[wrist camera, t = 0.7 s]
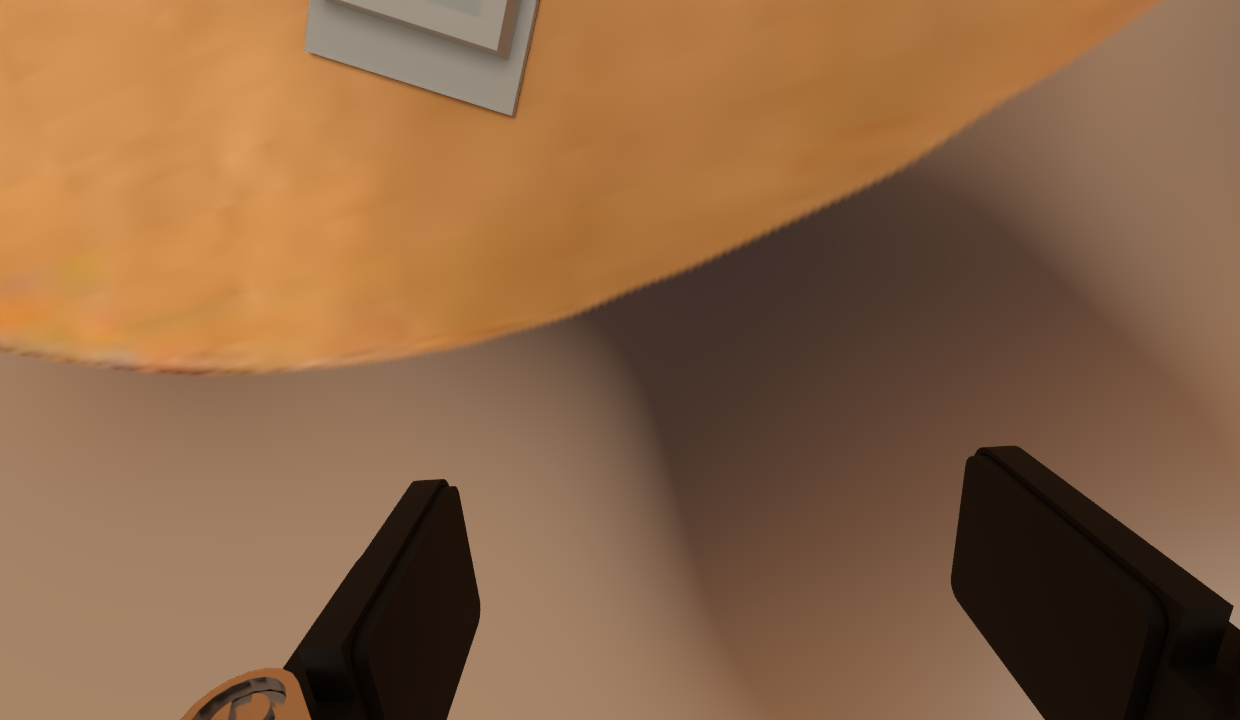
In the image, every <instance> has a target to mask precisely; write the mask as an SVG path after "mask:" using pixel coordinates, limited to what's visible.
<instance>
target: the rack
mask: <svg viewBox="0 0 1240 720" xmlns="http://www.w3.org/2000/svg"><path fill="white" fill-rule="evenodd" d="M539 1H540V0H309V9H308V19H307V29H306V39H305V49H304V51H307V52H310V53H313V54H317V55H320V56H323V57H326V58H329V59H332V60H336V61H339V62H342V63H345V64H348V65H351V66H355V67H358V68H361V69H364V70H367V71H370V72H374V73H377V74H380V75H383V76H386V77H389V78H393V79H396V80H399V81H402V82H405V83H409V84H412V85H415V86H418V87H421V88H424V89H428V90H431V91H434V92H437V93H440V94H443V95H447V96H450V97H453V98H456V99H459V100H462V101H466V102H469V103H472V104H475V105H478V106H481V107H485V108H488V109H491V110H494V111H497V112H501V113H504V114H507V115H510V116H513V117H515V112H516V107H517V103H518V98H519V93H520V89H521V84H522V80H523V75H524V70H525V66H526V61H527V56H528V52H529V47H530V43H531V38H532V33H533V29H534V24H535V19H536V15H537V10H538V6H539Z"/></svg>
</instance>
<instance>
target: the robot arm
mask: <svg viewBox="0 0 1240 720" xmlns="http://www.w3.org/2000/svg"><path fill="white" fill-rule="evenodd" d="M951 586H952V590H953V593H954V595H955V598H956V599H957V601H958V602H959V604H960V605H961V606H962V608H963V609H964V611H965V612H966V613H967V614H968V616H969V617H970V619H971V620H972V621H973V622H974V624H975V625H976V627H977V628H978V630H979V631H980V632H981V634H982V635H983V636H984V637H985V639H986V640H987V642H988V643H989V645H990V646H991V647H992V649H993V650H994V651H995V653H996V654H997V655H998V656H999V658H1000V659H1001V661H1002V662H1003V664H1004V665H1005V666H1006V668H1007V669H1008V670H1009V671H1010V673H1011V674H1012V676H1013V677H1014V678H1015V680H1016V681H1017V683H1018V684H1019V685H1020V687H1021V688H1022V689H1023V691H1024V692H1025V693H1026V695H1027V696H1028V697H1029V699H1030V700H1031V702H1032V703H1033V704H1034V706H1035V707H1036V708H1037V710H1038V711H1039V712H1040V714H1041V715H1042V716H1043V718H1044V719H1045V720H1240V630H1239V629H1238V628H1237V627H1235V626H1234V625H1233V624H1232V623H1230V622H1229V619H1230V616H1231V613H1232V610H1233V607H1234V606H1233V605H1231V604H1230V603H1228V602H1227V601H1226V600H1224V599H1223V598H1222V597H1220V596H1219V595H1218V594H1216V593H1215V592H1214V591H1212V590H1211V589H1210V588H1208V587H1207V586H1206V585H1204V584H1203V583H1202V582H1200V581H1199V580H1198V579H1196V578H1195V577H1194V576H1192V575H1191V574H1190V573H1188V572H1187V571H1185V570H1184V569H1183V568H1181V567H1180V566H1179V565H1177V564H1176V563H1175V562H1173V561H1172V560H1171V559H1169V558H1168V557H1166V556H1165V555H1164V554H1163V553H1161V552H1160V551H1159V550H1157V549H1156V548H1155V547H1153V546H1152V545H1150V544H1149V543H1148V542H1146V541H1145V540H1144V539H1142V538H1141V537H1140V536H1138V535H1137V534H1136V533H1134V532H1133V531H1131V530H1130V529H1129V528H1127V527H1126V526H1125V525H1124V524H1122V523H1121V522H1120V521H1118V520H1117V519H1115V518H1114V517H1113V516H1111V515H1110V514H1109V513H1107V512H1106V511H1105V510H1103V509H1102V508H1101V507H1099V506H1098V505H1097V504H1095V503H1094V502H1093V501H1091V500H1090V499H1088V498H1087V497H1086V496H1084V495H1083V494H1082V493H1080V492H1079V491H1078V490H1076V489H1075V488H1074V487H1072V486H1071V485H1070V484H1068V483H1067V482H1066V481H1064V480H1063V479H1062V478H1060V477H1059V476H1057V475H1056V474H1055V473H1054V472H1052V471H1051V470H1049V469H1048V468H1047V467H1045V466H1044V465H1043V464H1041V463H1040V462H1039V461H1037V460H1036V459H1035V458H1033V457H1032V456H1031V455H1029V454H1028V453H1027V452H1025V451H1024V450H1023V449H1021V448H1019V447H1017V446H998V447H982V448H980V449H978V450H977V452H976V453H975V456H971V457H969V458H968V459H967V462H966V466H965V474H964V481H963V489H962V496H961V504H960V513H959V520H958V527H957V535H956V543H955V550H954V558H953V566H952V574H951ZM479 618H480V599H479V594H478V589H477V584H476V579H475V573H474V568H473V563H472V558H471V553H470V548H469V542H468V537H467V532H466V527H465V522H464V517H463V511H462V506H461V501H460V496H459V491H458V489H457V487H455V486H450V487H449V484H448V483H447V481H446V480H445V479H438V480H421V481H413V482H412V483H411V485H410V486H409V488H408V489H407V491H406V492H405V494H404V495H403V496H402V498H401V499H400V501H399V502H398V504H397V505H396V507H395V508H394V510H393V511H392V512H391V514H390V515H389V517H388V518H387V520H386V521H385V523H384V524H383V526H382V527H381V529H380V530H379V531H378V533H377V534H376V536H375V537H374V539H373V540H372V542H371V543H370V545H369V546H368V548H367V549H366V550H365V552H364V554H363V555H362V556H361V557H360V558H359V560H357V562H356V563H355V564H354V566H353V567H352V569H351V570H350V572H349V573H348V574H347V576H346V577H345V579H344V580H343V582H342V583H341V585H340V586H339V588H338V589H337V591H336V592H335V593H334V595H333V596H332V598H331V599H330V601H329V602H328V604H327V605H326V606H325V608H324V610H323V611H322V612H321V614H320V615H319V617H318V618H317V619H316V621H315V622H314V624H313V625H312V627H311V628H310V630H309V631H308V633H307V634H306V635H305V637H304V638H303V640H302V641H301V643H300V644H299V646H298V647H297V649H296V650H295V651H294V653H293V654H292V656H291V657H290V659H289V660H288V662H287V663H286V665H285V666H284V667H283V669H281V668H264V669H259V670H254V671H250V672H247V673H245V674H242V675H240V676H237V677H235V678H232V679H230V680H228V681H226V682H225V683H223V684H221V685H220V686H218V687H216V688H214V689H213V690H211V691H210V692H209V693H207V694H206V695H205V696H204V697H203V698H201V699H200V700H199V701H198V702H196V703H195V704H194V705H193V706H192V707H191V708H190V709H189V710H188V711H187V713H186V714H185V715H184V716H183V717H182V718H181V719H180V720H447V717H448V714H449V710H450V708H451V705H452V702H453V698H454V696H455V693H456V690H457V686H458V684H459V681H460V677H461V675H462V672H463V669H464V666H465V662H466V659H467V656H468V654H469V650H470V647H471V644H472V641H473V638H474V635H475V632H476V629H477V626H478V623H479Z"/></svg>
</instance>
